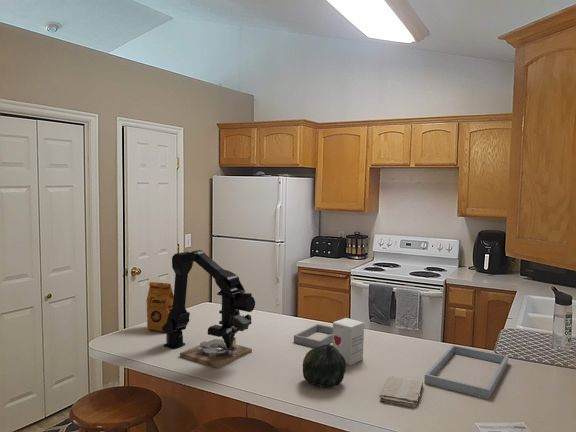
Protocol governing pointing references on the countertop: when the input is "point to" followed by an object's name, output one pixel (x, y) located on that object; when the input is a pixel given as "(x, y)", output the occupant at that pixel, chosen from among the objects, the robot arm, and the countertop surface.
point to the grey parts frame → (301, 336)
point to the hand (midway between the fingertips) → (228, 348)
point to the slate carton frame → (463, 386)
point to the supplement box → (349, 339)
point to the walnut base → (219, 360)
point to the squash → (324, 366)
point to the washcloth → (401, 391)
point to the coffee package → (158, 305)
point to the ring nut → (216, 348)
